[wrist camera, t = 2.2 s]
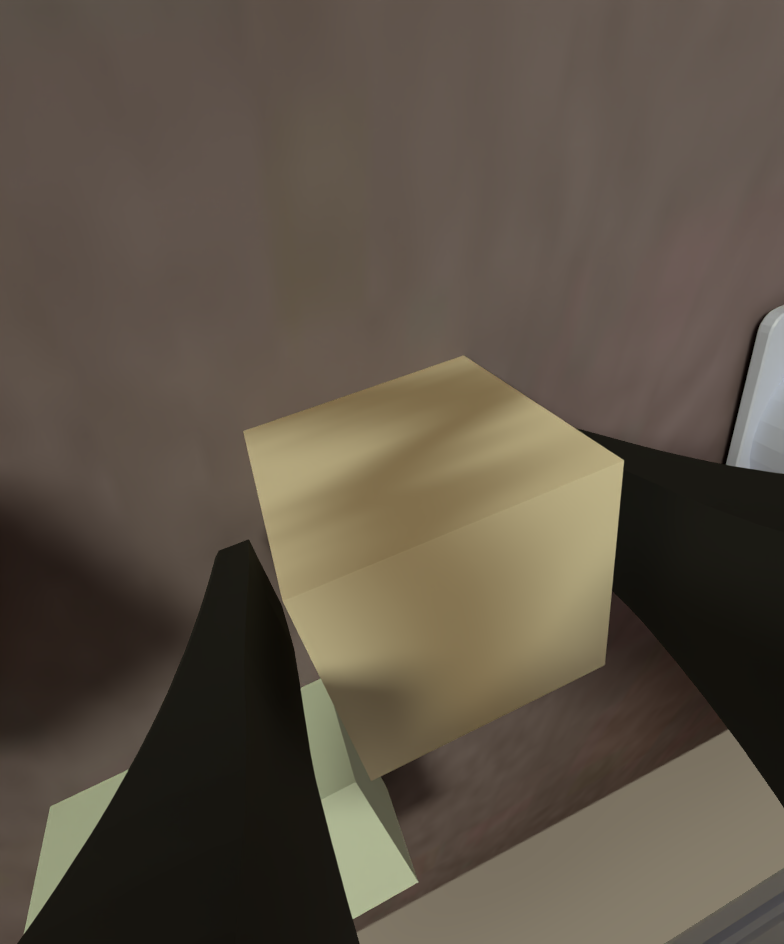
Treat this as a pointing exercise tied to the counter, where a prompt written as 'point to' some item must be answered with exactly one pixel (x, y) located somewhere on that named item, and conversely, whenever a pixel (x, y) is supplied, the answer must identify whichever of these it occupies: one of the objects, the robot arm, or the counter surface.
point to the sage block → (343, 799)
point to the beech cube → (438, 552)
